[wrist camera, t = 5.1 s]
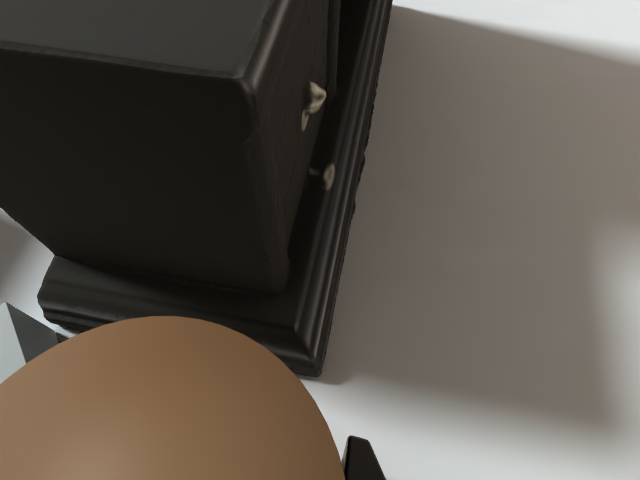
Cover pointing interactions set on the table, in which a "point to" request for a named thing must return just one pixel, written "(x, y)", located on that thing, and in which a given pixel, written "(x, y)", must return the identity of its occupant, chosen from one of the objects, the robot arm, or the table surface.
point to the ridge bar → (21, 339)
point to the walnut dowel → (162, 409)
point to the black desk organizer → (190, 157)
